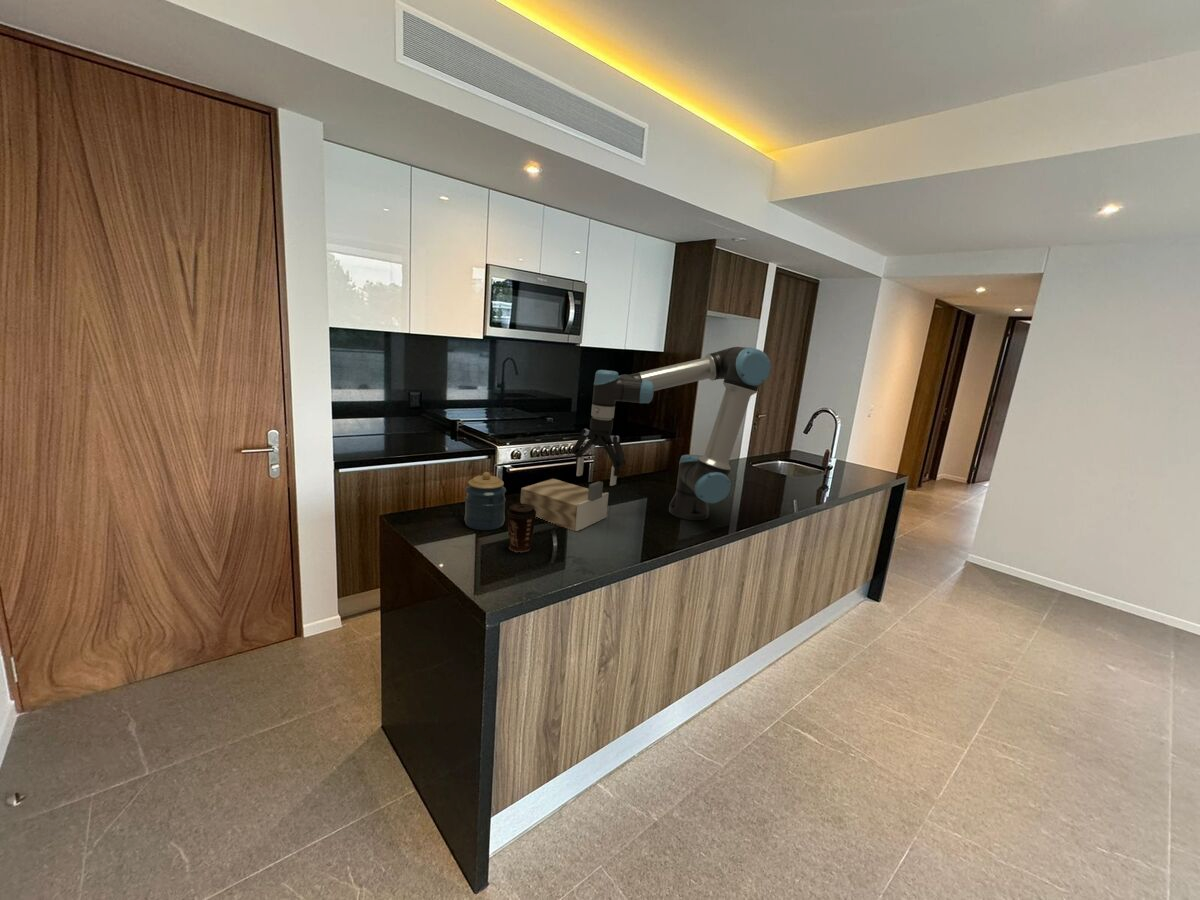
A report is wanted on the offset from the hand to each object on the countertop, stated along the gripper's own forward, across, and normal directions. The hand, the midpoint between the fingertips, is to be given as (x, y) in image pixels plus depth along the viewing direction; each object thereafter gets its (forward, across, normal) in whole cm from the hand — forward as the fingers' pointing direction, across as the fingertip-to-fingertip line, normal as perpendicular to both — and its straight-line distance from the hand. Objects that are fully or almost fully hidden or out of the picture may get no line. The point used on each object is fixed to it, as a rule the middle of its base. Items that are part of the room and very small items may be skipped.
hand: (595, 480), depth 169 cm
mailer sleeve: (+16, -13, 0) cm, 21 cm away
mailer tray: (+16, -11, 0) cm, 19 cm away
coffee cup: (+17, -5, -31) cm, 35 cm away
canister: (+17, -26, -25) cm, 40 cm away
